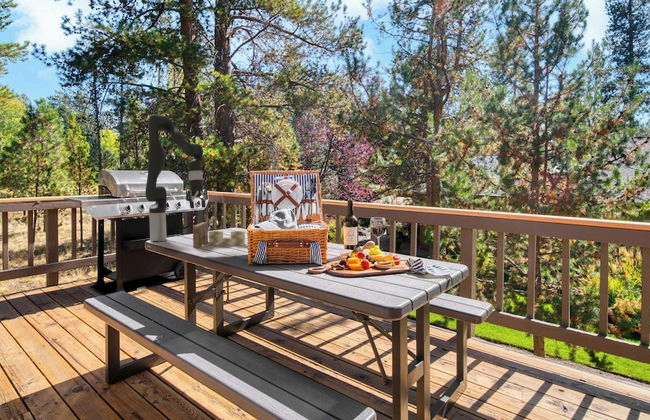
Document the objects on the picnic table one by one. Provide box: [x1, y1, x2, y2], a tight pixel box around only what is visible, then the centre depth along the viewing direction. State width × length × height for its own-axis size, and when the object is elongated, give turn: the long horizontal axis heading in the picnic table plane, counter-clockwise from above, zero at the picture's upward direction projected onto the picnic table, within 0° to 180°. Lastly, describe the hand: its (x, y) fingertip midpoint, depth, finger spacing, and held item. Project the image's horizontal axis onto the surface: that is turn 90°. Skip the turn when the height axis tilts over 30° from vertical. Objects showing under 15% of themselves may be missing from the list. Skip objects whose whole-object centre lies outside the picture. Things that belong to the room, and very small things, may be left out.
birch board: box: [208, 230, 246, 246], centre depth 241 cm, size 20×2×8 cm, turn 89°
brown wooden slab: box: [192, 221, 209, 249], centre depth 241 cm, size 18×3×12 cm, turn 179°
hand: (198, 208), depth 237 cm, fingers open, 8 cm apart
